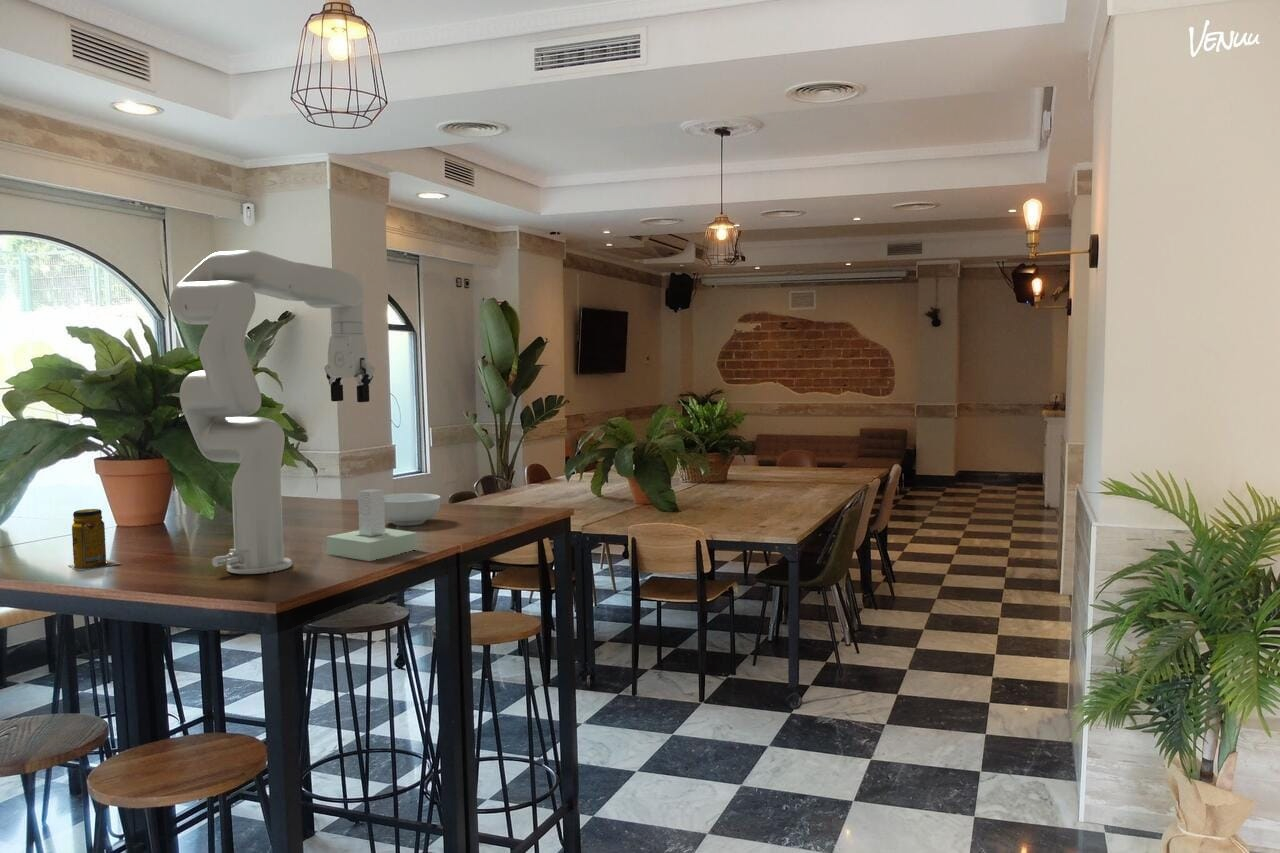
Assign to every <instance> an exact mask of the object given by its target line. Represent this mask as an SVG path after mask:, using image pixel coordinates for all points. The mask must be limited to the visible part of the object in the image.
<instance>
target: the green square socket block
mask: <svg viewBox="0 0 1280 853" xmlns="http://www.w3.org/2000/svg"><path fill="white" fill-rule="evenodd" d="M418 540H419V538H418V532H415V531H409V530H408V531H407V530H401V529H394V528H386V527H385V535H382V536H377V537H372V538H369V537H362V536H359V529H358V530H353V531H349V532H343V533H338V534H332V535H327V536H326V555H329V556H336V557H340V558H341V557H342V558H348V559H354V560H358V561H359V560H360V561H366V562H370V561H371V562H372V561H376V559H377V560H380V559H384V558H389V557H393V555H394V556H397V554H398V555H401V554H400V553H403V552H407V551H411V550H415V549H418V550H419V546H418V544H419V543H418ZM411 552H412V551H411ZM407 553H408V552H407ZM403 554H404V553H403Z"/></svg>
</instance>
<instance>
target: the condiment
mask: <svg viewBox="0 0 1280 853" xmlns="http://www.w3.org/2000/svg"><path fill="white" fill-rule="evenodd" d="M102 512H103V511H102V510H101V509H98V508H87V509H80V510H79V509H78V510H75V511H74V512H73V514H72V517H73V523H72V524H71V534H72V554H73V555H72V556H73V564H69V565H68V566H69V567H70V568H71V569H73V570H75V571H83V570H84V571H85V570H92V569H98V568H102V567H109V566H110V567H111V566H115V565H120V564H122V562H121V563H120V562H118V561H116V560H114V559H107V550H106V547H107V546H106V529H105V528H106V526H105V522H104V521H103V520H102V519H103V515H102ZM106 562H107V563H106Z"/></svg>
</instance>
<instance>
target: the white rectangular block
mask: <svg viewBox="0 0 1280 853" xmlns="http://www.w3.org/2000/svg"><path fill="white" fill-rule="evenodd" d="M384 495H385V489H374V488H370V489H363V490H362V489H361V490H357V497H358V498H357V503H358V530H359V536H362V537H369V538H372V537H377V536H382V535H385V528H386V519H385V506H384Z"/></svg>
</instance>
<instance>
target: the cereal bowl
mask: <svg viewBox="0 0 1280 853" xmlns="http://www.w3.org/2000/svg"><path fill="white" fill-rule="evenodd" d="M441 500H442V498H441V495H438V494H433V493H415V492H413V493H411V492H409V493H408V492H407V493H391V494H384V506H385V521H388V522H391V523H392V525H396V526H416V525H422V524H424V523H425V522H426V521H427V520H430V519H433V517H435V516H436V515H437V514H438V513H439V511H440V508H441V502H442V501H441Z"/></svg>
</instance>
